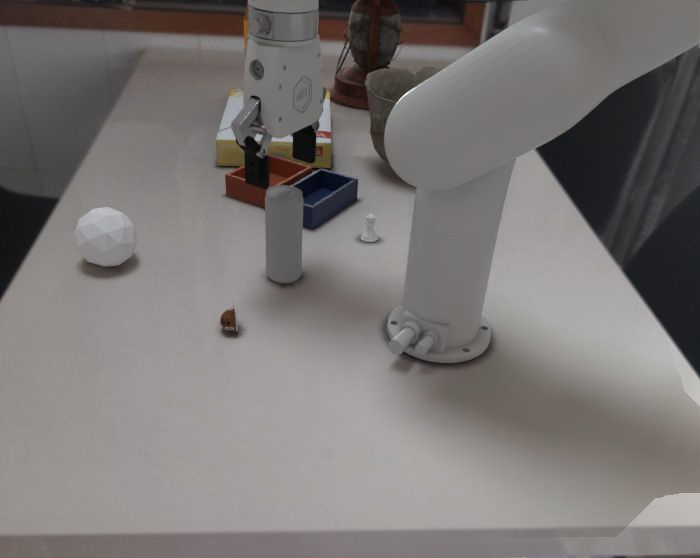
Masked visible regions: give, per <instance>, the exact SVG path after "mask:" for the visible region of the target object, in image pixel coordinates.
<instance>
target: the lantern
mask: <svg viewBox="0 0 700 558" xmlns="http://www.w3.org/2000/svg"><path fill="white" fill-rule="evenodd" d="M400 14H401V13H400V8H399V6H398V5H397V4H396V3H395V0H356V1H355V2H353V4H352V6H351V10H350V13H349V18H348V22H347V24H346V26H345V29H344V31H343V37H344V39H346V40H345V42H343V48H342V51H341V53H340V56H339V58H338V61H337V64H336V67H335V71H334V76H333V85H331V86H330V87H329V88H328V90H329V91H330V101H333V102H334V103H336V104H338V105H341V106H344V107H347V108H352V109H359V110H367V111H370V110H369V103H368V94H367V90H366V85H365V81H366V76H367V75H368V74H369V73H371V72H373V71H376V70H379V69H385V68H386V69H389V68H391V67H390V65H391V62H392V61H394V60H395V59H396V58H397V57H398V56H399V54H400V52H401V51H402V47H403V44H404V38H402V39H401V41H400V37H401V34H402V36H404V32H403V29H402V19H401V15H400ZM346 30H347V35H346ZM399 41H400V42H399ZM347 44H348V45H347ZM399 45H401V46H400V49H399V51H398V53H397V54H396V51H397V49H398V46H399ZM347 46H348V48H347ZM345 50H346V52H345ZM344 52H345V54H344ZM348 54H349V55H350V56H351V57H352V59H353V63H354V64H352V65H351V66H346V67H343V65H344V63H345V61H346V59H347V56H348ZM343 55H344V56H343ZM395 55H396V56H395ZM394 56H395V57H394ZM342 58H343V59H342ZM341 60H342V61H341Z"/></svg>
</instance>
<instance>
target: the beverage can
mask: <svg viewBox="0 0 700 558" xmlns="http://www.w3.org/2000/svg"><path fill="white" fill-rule="evenodd" d="M264 221H265V223H264V224H265V225H264V226H265V228H264V229H265V269H266V270H265V273H266V275H267V277H268V278H269V279H270V280H271V281H273V282H275V283H278V284H291V283H295V282H296V281H298V280H299V279H300V277H301V276H302V273H303V231H304V230H303V229H304V227H303V196H302V191H301V190H300V189H298V188H296V187H293V186H286V185H280V186H274V187H271V188H269V189H268V190H267V191H266V197H265V208H264Z"/></svg>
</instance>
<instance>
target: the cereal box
mask: <svg viewBox="0 0 700 558" xmlns="http://www.w3.org/2000/svg"><path fill="white" fill-rule="evenodd" d="M243 89H244V88H232V89H230V93H229V96H228V99H227V102H226V106H225V108H224V111H223V115H222V119H221V122H220V125H219V127H218V131H217V134H216V137H215V149H216V159H217V160H216V161H217V166H219V167H241V166H243V165H245V157H244V152H242V151H241V147H240V146H239V145H238V144H237V143H236V138H235V136H234V133H233V131H232V129H231V123H232V121H233V120H234V119H235V118H236V116H237V115H238V114H239V113H240V111H241V110H242V109H243ZM331 115H332V114H331V99H330V91H329V89H327V93H326V96H325V100H324V103H323V112H322V115H321V117H320V118H319V120H318V121H319V123H320V126H319V129H318V131H314V132H317V136H316V160H315V162H314V163H312V164H310V163H307V162H304V161H301V160H298V159H295V158H293V156H292V151H293V133H292V134H290V135H288V136H286V137H283V138H280V139H278V138H274V137H273V138H272V140H271V142H270V145H269V147H268V150H267V152H266V154H270V155H273V156H277V157H280V158H284V159H287V160H290V161H294V162H297V163H300V164H304V165H307V166H310V167H312V169H315V168H316V169H318V168H319V169H320V168H322V169H330V168H332V164H333V163H332V162H333V161H332V160H333V159H332V157H333V156H332V153H333V150H332V149H333V148H332V145H333V144H332V119H331ZM263 128H265V127H264V126H263ZM262 136H263V135H259V134H256V136H255V141H256V142H257V143H258V144H259V143H260V141H261V138H262ZM266 154H265V155H266Z"/></svg>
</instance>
